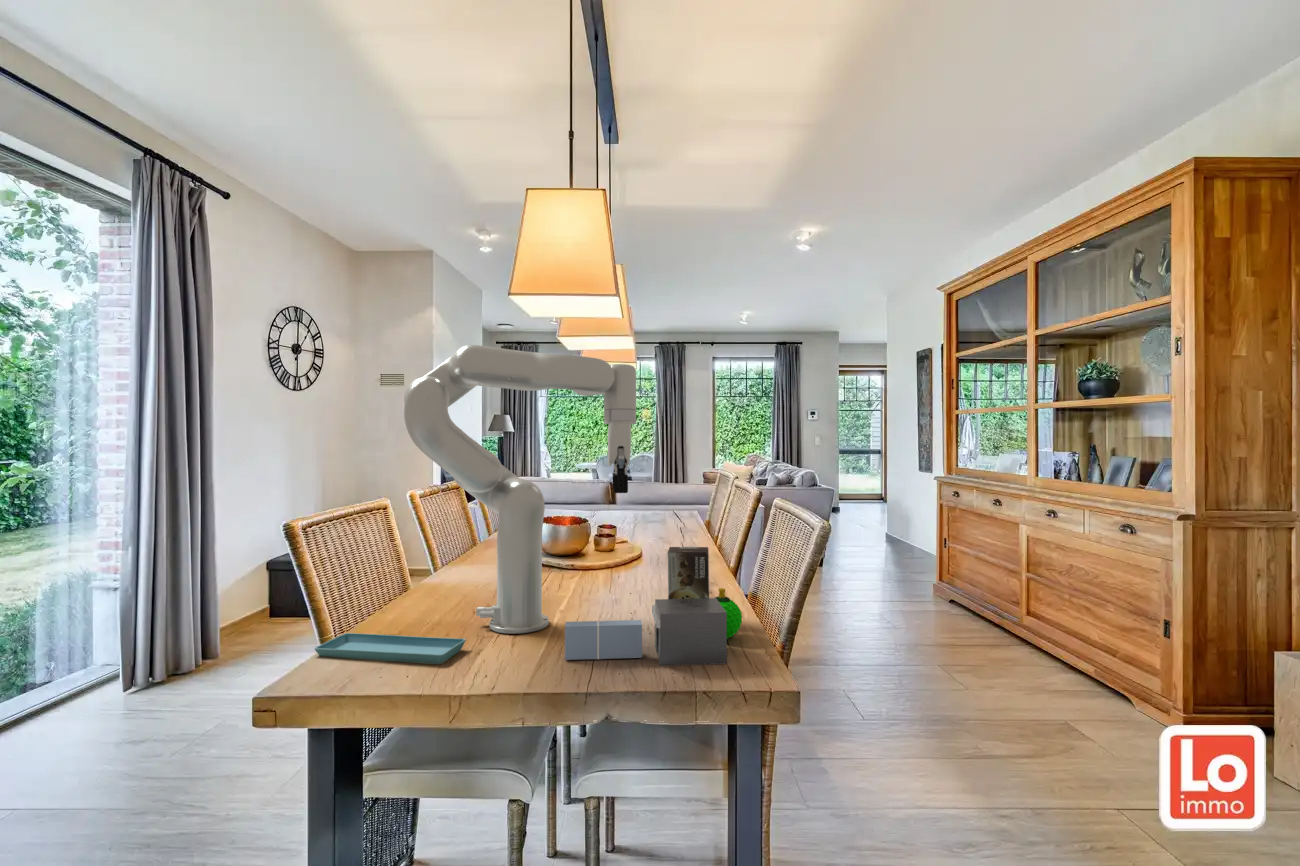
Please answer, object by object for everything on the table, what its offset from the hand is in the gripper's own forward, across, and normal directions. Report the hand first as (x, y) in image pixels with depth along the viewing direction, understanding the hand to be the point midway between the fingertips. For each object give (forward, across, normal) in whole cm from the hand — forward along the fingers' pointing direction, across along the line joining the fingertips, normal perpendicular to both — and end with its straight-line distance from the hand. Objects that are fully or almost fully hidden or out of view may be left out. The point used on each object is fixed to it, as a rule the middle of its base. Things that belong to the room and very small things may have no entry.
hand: (620, 491), depth 142 cm
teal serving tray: (+29, +23, -44) cm, 58 cm away
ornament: (+28, +20, +20) cm, 40 cm away
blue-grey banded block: (+28, +29, -4) cm, 41 cm away
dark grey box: (+28, +29, +12) cm, 42 cm away
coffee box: (+28, +8, +15) cm, 33 cm away
